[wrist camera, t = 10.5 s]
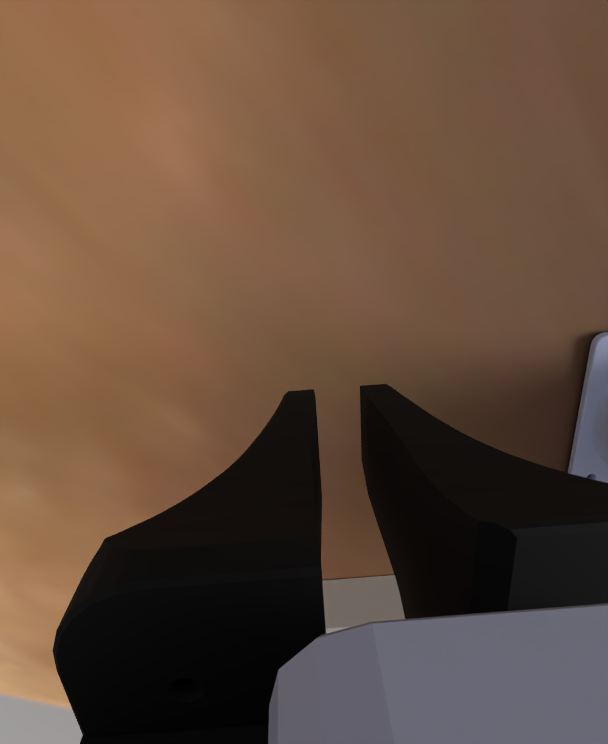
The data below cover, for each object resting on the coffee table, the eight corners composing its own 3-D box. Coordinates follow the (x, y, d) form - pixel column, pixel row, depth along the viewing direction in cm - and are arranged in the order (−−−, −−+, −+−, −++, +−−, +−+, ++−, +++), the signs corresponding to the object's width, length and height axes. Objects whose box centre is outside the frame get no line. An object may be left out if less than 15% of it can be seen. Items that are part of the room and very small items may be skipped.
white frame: (512, 565, 27) (538, 612, 24) (493, 704, 32) (512, 756, 29) (295, 582, 27) (296, 630, 24) (309, 719, 32) (311, 772, 29)
